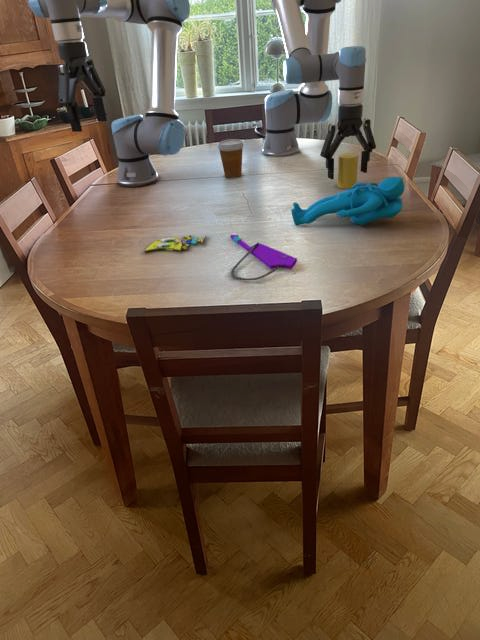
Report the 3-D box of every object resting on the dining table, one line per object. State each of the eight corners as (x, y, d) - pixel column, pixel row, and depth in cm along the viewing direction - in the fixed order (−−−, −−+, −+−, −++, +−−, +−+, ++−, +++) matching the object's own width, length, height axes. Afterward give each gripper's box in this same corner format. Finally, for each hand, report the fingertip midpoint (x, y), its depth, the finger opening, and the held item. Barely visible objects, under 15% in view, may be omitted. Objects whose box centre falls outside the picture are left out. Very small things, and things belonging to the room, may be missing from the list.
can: (352, 189, 157) (353, 158, 152) (334, 187, 160) (335, 157, 155) (359, 183, 162) (360, 153, 156) (341, 182, 165) (342, 152, 159)
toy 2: (294, 191, 141) (400, 164, 130) (303, 224, 146) (406, 201, 135) (286, 212, 127) (404, 184, 117) (296, 248, 132) (410, 224, 122)
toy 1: (199, 248, 125) (143, 249, 127) (199, 251, 125) (144, 252, 127) (206, 233, 133) (154, 234, 135) (206, 236, 133) (154, 237, 136)
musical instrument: (273, 292, 106) (311, 246, 118) (271, 284, 105) (310, 238, 117) (189, 277, 119) (231, 237, 131) (186, 270, 118) (230, 230, 130)
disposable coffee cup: (216, 178, 179) (213, 145, 172) (226, 170, 186) (223, 138, 180) (240, 179, 176) (237, 145, 169) (249, 171, 183) (247, 139, 176)
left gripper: (54, 44, 116) (77, 136, 128) (106, 37, 136) (122, 116, 148) (29, 46, 118) (53, 136, 130) (83, 39, 138) (101, 117, 150)
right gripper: (321, 111, 141) (320, 184, 153) (391, 100, 147) (385, 171, 159) (309, 108, 147) (309, 178, 159) (377, 97, 153) (372, 166, 165)
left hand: (90, 126), depth 139 cm, fingers open, 13 cm apart
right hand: (347, 175), depth 159 cm, fingers open, 12 cm apart
